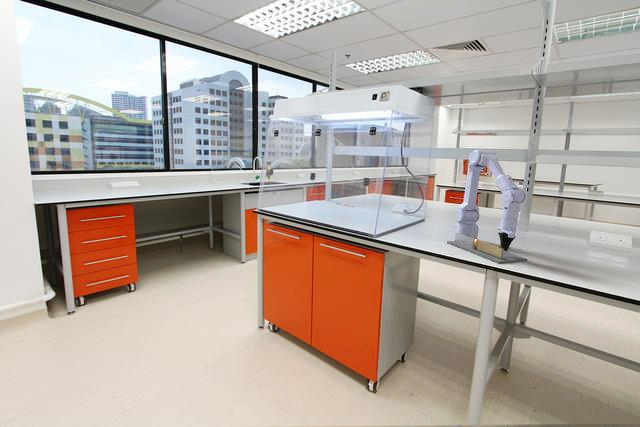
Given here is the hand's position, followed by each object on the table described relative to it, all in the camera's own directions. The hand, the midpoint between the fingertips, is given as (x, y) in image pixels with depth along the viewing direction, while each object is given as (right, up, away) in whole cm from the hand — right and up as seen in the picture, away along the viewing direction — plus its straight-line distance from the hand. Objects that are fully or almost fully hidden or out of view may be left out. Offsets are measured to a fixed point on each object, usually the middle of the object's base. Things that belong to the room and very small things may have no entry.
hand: (504, 250), depth 131 cm
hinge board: (-4, -1, +8) cm, 9 cm away
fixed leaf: (-11, 0, +13) cm, 17 cm away
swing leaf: (-6, -1, +1) cm, 7 cm away
